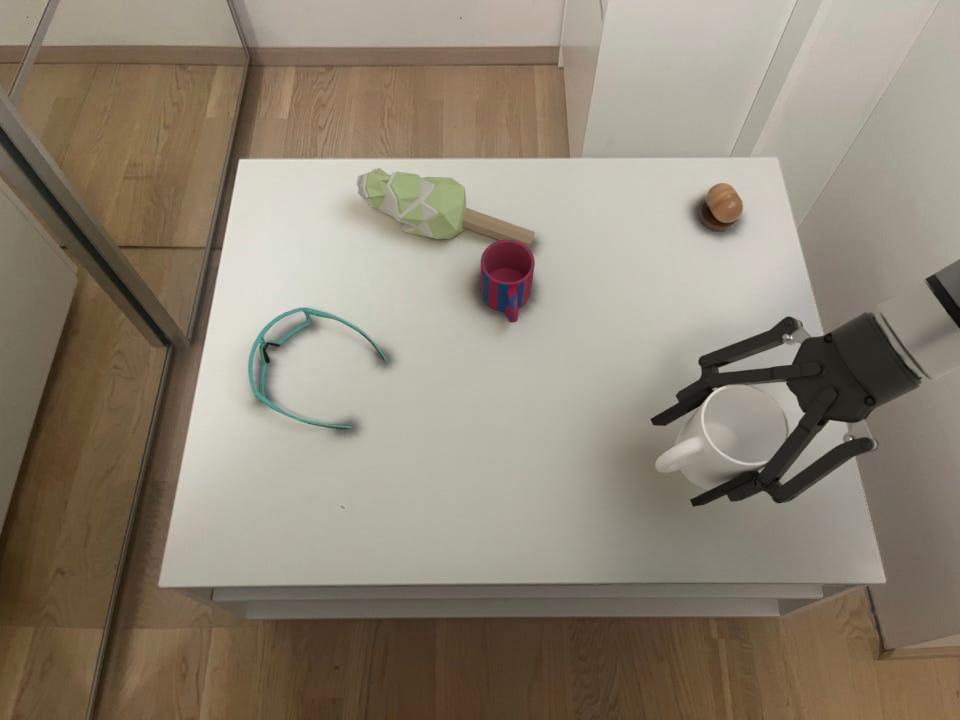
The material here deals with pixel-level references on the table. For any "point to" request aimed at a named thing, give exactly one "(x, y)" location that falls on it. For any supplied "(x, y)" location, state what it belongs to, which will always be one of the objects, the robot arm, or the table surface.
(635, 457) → the table surface
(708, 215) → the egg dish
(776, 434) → the mug
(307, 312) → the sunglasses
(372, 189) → the decorative object
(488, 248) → the cup
